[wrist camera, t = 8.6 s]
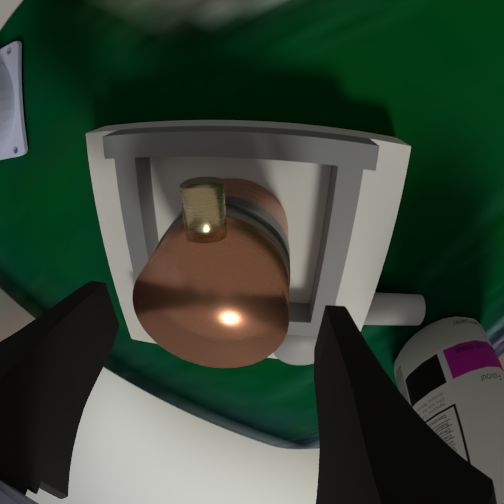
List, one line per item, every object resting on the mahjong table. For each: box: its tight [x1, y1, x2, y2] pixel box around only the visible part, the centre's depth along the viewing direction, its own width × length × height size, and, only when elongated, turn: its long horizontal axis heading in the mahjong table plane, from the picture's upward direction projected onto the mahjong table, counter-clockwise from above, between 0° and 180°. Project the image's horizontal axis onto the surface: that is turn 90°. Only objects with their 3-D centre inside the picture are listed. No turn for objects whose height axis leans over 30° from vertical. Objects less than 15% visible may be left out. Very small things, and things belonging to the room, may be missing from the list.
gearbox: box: [86, 120, 426, 365], centre depth 16 cm, size 19×14×4 cm
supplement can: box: [394, 316, 504, 504], centre depth 14 cm, size 8×8×15 cm
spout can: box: [132, 177, 290, 368], centre depth 11 cm, size 5×6×6 cm
